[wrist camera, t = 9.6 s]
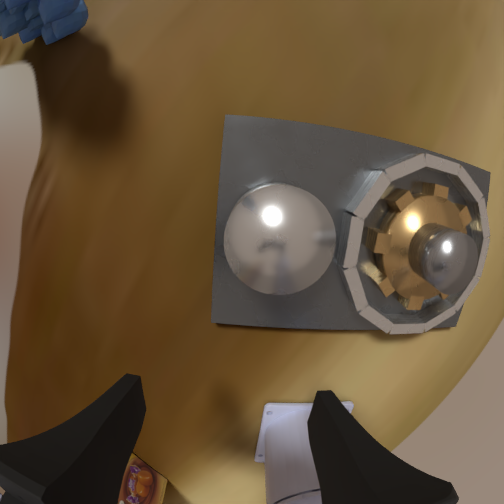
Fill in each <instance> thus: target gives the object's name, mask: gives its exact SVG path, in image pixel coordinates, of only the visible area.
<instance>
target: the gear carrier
mask: <svg viewBox="0 0 504 504" xmlns="http://www.w3.org/2000/svg"><path fill="white" fill-rule="evenodd" d="M423 182H427V183H434V184H438V185H441V186H445V187H448V188H449V190H448V197H447V200H449V201H451V202H452V203H458V204H462V205H466V206H467V208H468V211H469V213H470V216H471V218H472V221H471V222H470V223H469V224H468V225H467V226H466V230H467V235H469V236H470V237H471V238H472V239H473V240H474V242H475V244H476V246H477V251H478V262H477V267H476V270H475V273H474V275H473V277H472V279H471V281H470V282H469V283H468V285H467V286H466V287H465V288H464V289H463V290H461V291H460V292H458V293H456V294H452V295H449V296H447V297H446V298H445V299H444V300H443V299H441V298H440V297H439V296H438V295H436V296H434V297H432V298H430V299H426V300H423V303H422V306H421V309H420V310H407V309H406V308H405V307H404V306H403V305H402V304H401V303H400V302H399V301H398V297H399V293H397V292H396V291H394V292H393V293H391V294H390V295H389V296H388V297H385V296H384V295H383V294H382V293H381V292H380V291H379V290H378V289H377V287H376V285H375V284H374V282H373V281H372V279H371V277H370V275H371V274H372V273H374V272H375V271H376V270H377V269H378V267H377V263H376V258H375V253H374V252H373V251H371V250H370V249H368V248H367V247H366V246H365V243H366V238H367V232H368V227H369V228H375V229H379V227H380V224H381V222H382V220H383V218H384V217H385V215H386V214H387V212H388V211H389V210H390V207H389V206H388V204H387V202H386V200H385V198H386V197H388V196H389V195H390V194H391V193H393V192H394V191H395V190H396V189H397V188H399V189H405V190H409V191H410V193H411V194H416V193H422V186H423ZM489 183H490V172H488V171H485V170H483V169H480V168H478V167H475V166H473V165H470V164H467V163H465V162H462V161H459V160H456V159H453V158H450V157H447V156H444V155H441V154H438V153H435V152H432V151H429V150H426V149H422V148H419V147H415V146H412V145H408V144H405V143H401V142H397V141H393V140H389V139H385V138H381V137H377V136H373V135H368V134H364V133H359V132H355V131H350V130H345V129H339V128H334V127H328V126H322V125H316V124H310V123H303V122H296V121H289V120H281V119H272V118H262V117H251V116H238V115H225V123H224V133H223V144H222V155H221V166H220V178H219V191H218V204H217V219H216V234H215V251H214V269H213V290H212V315H211V322H212V323H222V324H234V325H247V326H261V327H277V328H298V329H329V330H383V331H384V332H386V333H389V334H411V333H423V331H424V332H426V331H428V330H430V329H431V328H442V327H456V324H457V321H458V319H459V316H460V313H461V310H462V307H463V304H464V302H465V301H466V299H467V298H468V296H469V295H470V293H471V292H472V290H473V289H474V288H475V286H476V285H477V283H478V281H479V278H478V277H481V274H482V271H483V267H484V263H485V259H486V255H487V251H488V246H489V241H490V239H489V238H488V237H490V230H489V223H488V216H487V210H486V207H487V200H488V192H489Z"/></svg>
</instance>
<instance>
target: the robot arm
mask: <svg viewBox="0 0 504 504" xmlns="http://www.w3.org/2000/svg"><path fill="white" fill-rule="evenodd" d="M353 407H354V405H353V402H351V401H344V402H340V400H339V399H338V398H337V397H336V395H335V394H334V393H333V392H332V391H331V390H327V391H317V393H316V396H315V400H314V403H267V404H266V405H265V406H264V410H263V416H262V421H261V427H260V432H259V437H258V442H257V447H256V453H255V458H254V459H255V461H256V462H264V465H265V485H266V503H267V504H456V503H457V502H458V500H459V497H458V495H457V493H456V491H455V489H454V487H453V486H452V484H451V483H450V482H447V481H444V480H442V479H439V478H436V477H433V476H431V475H428V474H426V473H424V472H422V471H420V470H418V469H416V468H414V467H413V466H411V465H409V464H408V463H406V462H404V461H403V460H401V459H400V458H398V457H397V456H395V455H394V454H392V453H391V452H390V451H388V450H387V449H386V448H385V447H383V446H382V445H381V444H380V443H379V442H377V441H376V440H375V439H374V438H373V437H372V436H371V435H370V434H369V433H368V432H367V431H366V430H365V429H364V428H363V427H362V426H361V425H360V424H359V423H358V422H357V420H356V419H355V418H354V417H353V416H352V415H351V412H352V409H353ZM268 411H271V412H268ZM145 412H146V405H145V400H144V395H143V389H142V383H141V378H140V376H137V375H132V374H125V375H124V376H123V377H122V378H121V379H120V380H118V381H117V382H116V383H115V384H114V385H113V386H112V387H111V388H110V389H108V390H107V391H106V392H105V393H104V394H103V395H101V396H100V397H99V398H98V399H97V400H95V401H94V402H93V403H92V404H90V405H89V406H88V407H86V408H85V409H84V410H82V411H81V412H79V413H78V414H77V415H75V416H74V417H72V418H70V419H69V420H67V421H65V422H64V423H62V424H60V425H58V426H56V427H54V428H52V429H50V430H48V431H46V432H43V433H41V434H39V435H36V436H33V437H31V438H27V439H24V440H21V441H17V442H13V443H8V444H3V445H0V486H1V487H2V488H3V489H4V490H5V493H4V495H2V494H1V493H0V504H118V499H119V494H120V489H121V485H122V480H123V476H124V473H125V470H126V467H127V464H128V462H129V459H130V456H131V454H132V451H133V449H134V446H135V444H136V441H137V439H138V436H139V434H140V431H141V428H142V424H143V421H144V416H145Z"/></svg>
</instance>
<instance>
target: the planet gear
mask: <svg viewBox="0 0 504 504" xmlns="http://www.w3.org/2000/svg"><path fill="white" fill-rule="evenodd" d="M448 190H449V188H448V187H445V186H441V185H438V184H434V183H427V182H423V186H422V193H416V194H411V193H410V191H409V190H405V189H399V188H397V189H396V190H395V191H394V192H393V193H391V194H390V195H389V196H388V197H386V198H385V200H386V202H387V204H388V206H389V207H390V210H389V211H388V212H387V214H386V215H385V217H384V218H383V220H382V222H381V224H380V227H379V229H375V228H369V227H368V232H367V238H366V243H365V246H366V247H367V248H368V249H370V250H371V251H373V252H374V253H375V258H376V263H377V267H378V269H377V270H376V271H375V272H374V273H372V274H371V275H370V277H371V279H372V281H373V282H374V284H375V285H376V287H377V289H378V290H379V291H380V292H381V293H382V294H383V295H384V296H385V297H388V296H389V295H390V294H391V293H393V292H394V291H396V292H397V293H399V297H398V301H399V302H400V303H401V304H402V305H403V306H404V307H405V308H406V309H407V310H420V309H421V306H422V303H423V300H426V299H430V298H432V297H434V296H436V295H438V296H439V297H440V298H441V299H443V300H444V299H445V298H446V297H447V296H449V295H452V294H456V293H458V292H460V291H461V290H463V289H464V288H465V287H466V286H467V285H468V283H469V282H470V281H471V279H472V277H473V275H474V273H475V270H476V267H477V262H478V251H477V246H476V244H475V242H474V240H473V239H472V238H471V237H470V236H469V235H467V230H466V226H467V225H468V224H469V223H470V222H471V221H472V218H471V216H470V213H469V211H468V208H467V206H466V205H462V204H458V203H452V202H451V201H449V200H447V197H448Z"/></svg>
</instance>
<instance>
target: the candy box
mask: <svg viewBox="0 0 504 504" xmlns="http://www.w3.org/2000/svg"><path fill="white" fill-rule="evenodd" d="M167 481H168V480H167V479H166V478H164V477H163V476H162V475H160V474H159V473H158V472H156V471H155V470H153V469H152V468H151V467H149V466H148V465H147V464H146V463H144V462H143V461H142V460H140V459H139V458H138V457H137V456H135V455H134V454H133V453H132V454H131V456H130V459H129V462H128V464H127V467H126V470H125V473H124V476H123V480H122V485H121V489H120V494H119V499H118V504H162V503H163V499H164V494H165V489H166V485H167Z"/></svg>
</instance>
